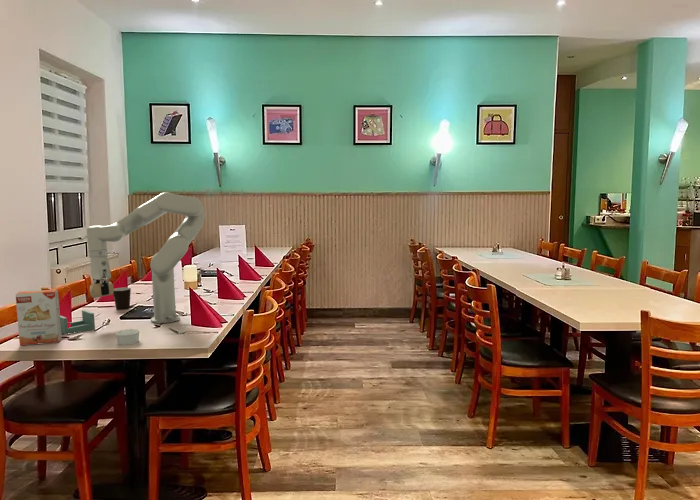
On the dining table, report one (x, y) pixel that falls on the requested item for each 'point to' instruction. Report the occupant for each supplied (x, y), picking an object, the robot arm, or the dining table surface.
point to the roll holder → (78, 323)
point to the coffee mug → (122, 298)
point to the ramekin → (127, 336)
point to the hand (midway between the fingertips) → (102, 293)
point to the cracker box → (38, 316)
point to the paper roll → (96, 290)
